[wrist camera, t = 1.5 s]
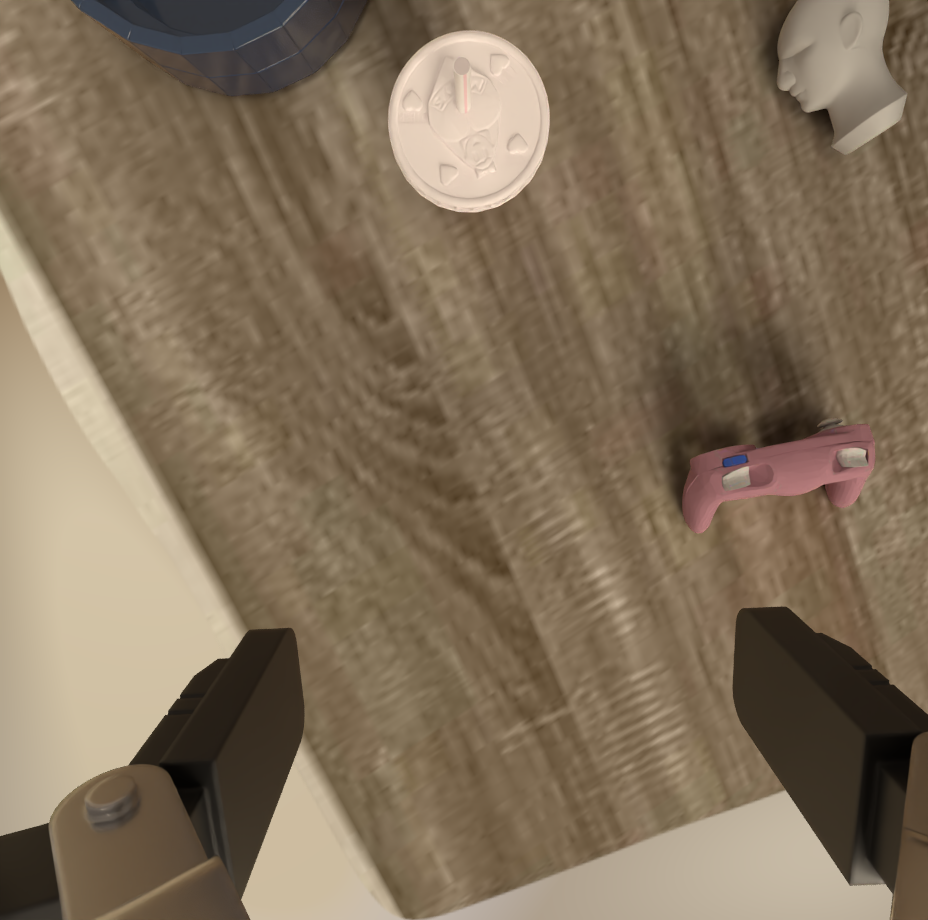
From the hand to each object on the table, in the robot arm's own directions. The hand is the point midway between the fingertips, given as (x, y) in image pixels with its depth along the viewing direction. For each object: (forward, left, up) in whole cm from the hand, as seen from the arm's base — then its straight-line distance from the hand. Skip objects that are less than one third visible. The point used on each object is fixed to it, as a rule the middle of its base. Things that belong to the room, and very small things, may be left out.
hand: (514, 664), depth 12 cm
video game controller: (-6, +15, -27) cm, 31 cm away
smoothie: (-11, -8, -27) cm, 30 cm away
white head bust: (-24, +5, -27) cm, 36 cm away
